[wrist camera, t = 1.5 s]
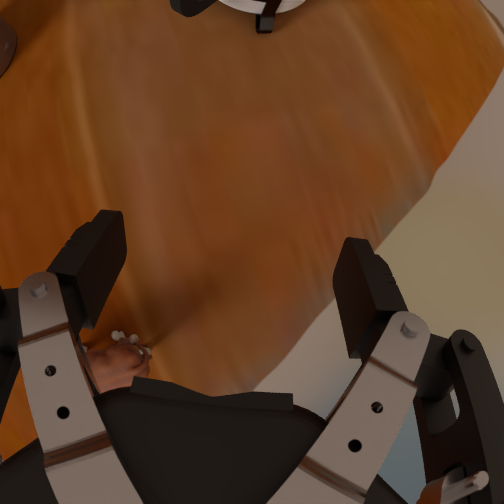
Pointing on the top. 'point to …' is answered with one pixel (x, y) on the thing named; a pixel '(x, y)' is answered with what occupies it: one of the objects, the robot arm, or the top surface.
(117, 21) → the top surface
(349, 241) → the robot arm
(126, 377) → the bull figurine
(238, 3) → the coffee press
